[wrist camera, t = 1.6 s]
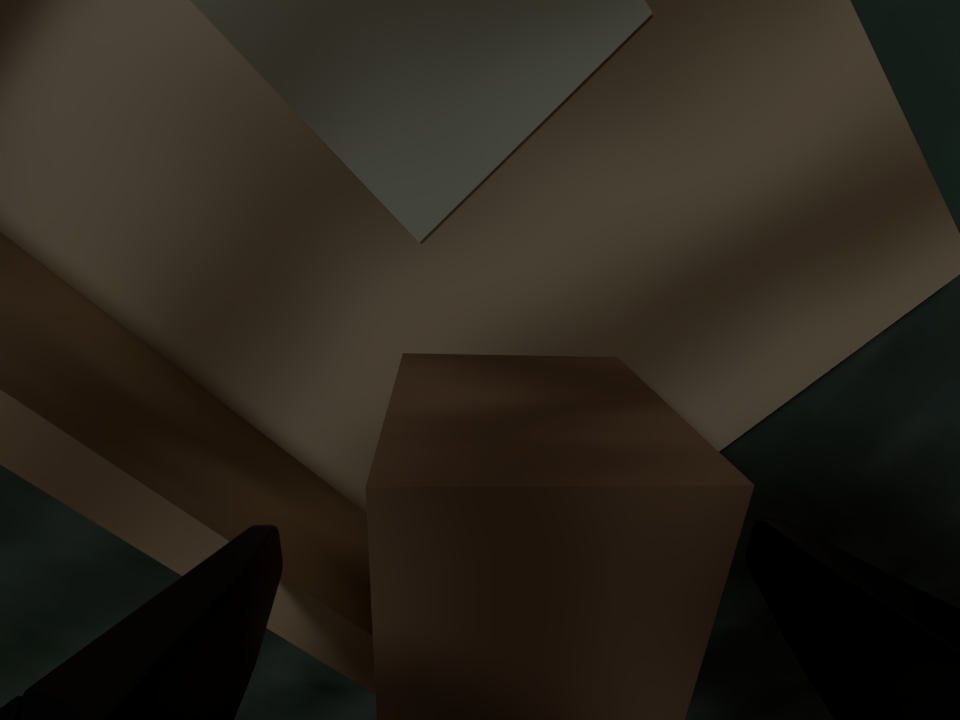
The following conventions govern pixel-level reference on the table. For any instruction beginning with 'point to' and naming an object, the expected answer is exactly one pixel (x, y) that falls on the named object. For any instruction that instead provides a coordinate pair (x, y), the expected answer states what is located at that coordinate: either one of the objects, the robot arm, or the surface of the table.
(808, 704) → the table surface
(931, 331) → the table surface
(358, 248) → the board
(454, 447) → the walnut block
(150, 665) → the robot arm
